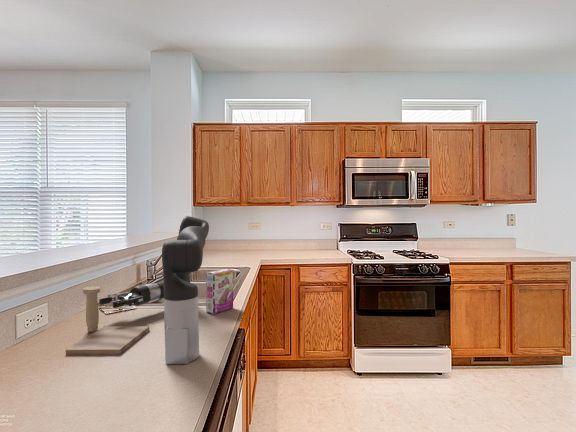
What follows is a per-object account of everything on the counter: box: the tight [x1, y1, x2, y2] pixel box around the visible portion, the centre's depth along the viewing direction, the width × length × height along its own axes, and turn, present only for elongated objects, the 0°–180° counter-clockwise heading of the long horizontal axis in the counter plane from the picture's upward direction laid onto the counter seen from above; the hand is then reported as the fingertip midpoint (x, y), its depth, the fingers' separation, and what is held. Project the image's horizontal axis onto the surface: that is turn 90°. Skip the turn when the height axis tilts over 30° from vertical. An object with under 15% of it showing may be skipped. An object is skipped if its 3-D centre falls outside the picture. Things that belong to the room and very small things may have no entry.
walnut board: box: [65, 325, 150, 356], centre depth 111 cm, size 20×16×2 cm
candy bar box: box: [205, 268, 234, 315], centre depth 144 cm, size 11×5×16 cm, turn 144°
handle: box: [82, 285, 101, 333], centre depth 121 cm, size 5×6×15 cm
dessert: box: [104, 305, 137, 315], centre depth 148 cm, size 12×12×5 cm
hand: (106, 303), depth 125 cm, fingers open, 8 cm apart
